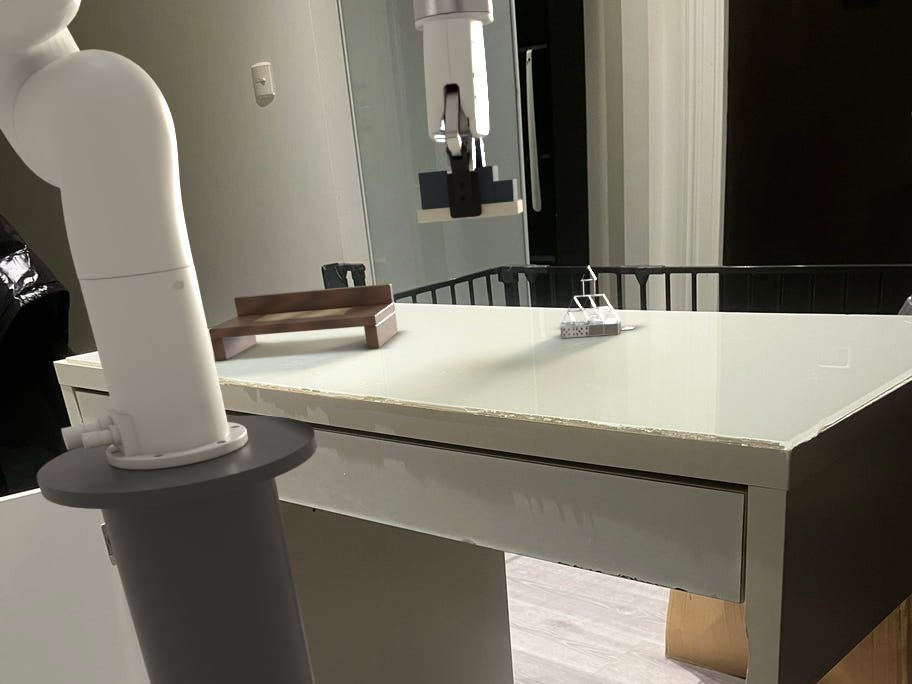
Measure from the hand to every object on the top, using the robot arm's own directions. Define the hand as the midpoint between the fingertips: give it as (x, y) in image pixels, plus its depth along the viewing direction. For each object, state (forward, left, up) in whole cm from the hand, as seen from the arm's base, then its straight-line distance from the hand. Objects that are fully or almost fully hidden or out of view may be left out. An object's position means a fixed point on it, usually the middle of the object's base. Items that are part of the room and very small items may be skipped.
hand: (470, 213), depth 99 cm
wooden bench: (-9, +32, -15) cm, 37 cm away
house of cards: (+19, +5, -15) cm, 25 cm away
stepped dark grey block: (0, 0, 0) cm, 0 cm away
